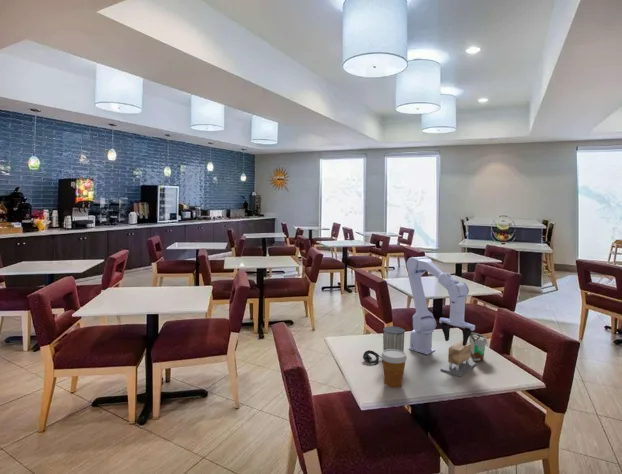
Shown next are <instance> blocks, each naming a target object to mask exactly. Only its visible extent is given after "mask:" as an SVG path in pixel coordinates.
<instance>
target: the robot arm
mask: <svg viewBox="0 0 622 474" xmlns="http://www.w3.org/2000/svg"><path fill="white" fill-rule="evenodd" d="M406 270H407V273H408V274H407V275H408V276H407V277H408V281H409V283H410V284H409V285H410V289H411V294H412V299H413V303H414V308H415V313H414V314H413V315H412V329H413V330H411V333H410V337H409V338H410V339H409V348H408V349H409V350H411V351H414V352H416V353H417V352H418V353H420V354H421V353H422V354H424V355H428V354H431V353H433V352H434V351H436V349H435V348H432V346H433V332H434V330H436V327H437V321H436V319H435V317H434V314H433V313H432V312H431V311H430V310H429V309H428V305H427V300H426V296H425V291H424V287H423V283H422V276H423V275H424V274H425V273H426V272H428V273H429V274H431V275H432V276H433V277H435V278H437V283H438V284H439V285H441V286H442V287H443V288H445V290H446V291H447V292H448V293H447V294H448V297H449V300H450V301H449V302H450V305H449V318H448V317H447V318H446V317H440V318H439V321H438V322H439V324H440V329H441V330H442V333H443V335H444V341H445V342H448V341H449V340H450V331H451V326H453V327H458V328H462V331H461V332H462V341H463V346H465V345H466V344H467V343H468V342H469V339H470V334H471V333H472V332H473V331H475V330H476V325H475V324H472V323H469V322H466V321H465V311H466V310H465V309H466V297H467V296H468V295H469V292H470V290H469V286H468V285H467V284H466V282H460V281H459V280H458V279H456V278H455V277H454V276H452V274H451V273H450V272H443V271H442V270H441V269H440V268H439V267H438V266H436V264H434V263H433V260H432V259H431V258H430V257H428V256H426V255H424V256H417V257H416V256H415V257H414V256H411V257H409V258H408V259H407V261H406Z"/></svg>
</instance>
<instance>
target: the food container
mask: <svg viewBox="0 0 622 474" xmlns="http://www.w3.org/2000/svg"><path fill="white" fill-rule="evenodd" d="M468 343H471V357H470V358H471V361H472V362H476V363H481V362H483V361H484V358H485V351H486V350H485V349H486V345H487V344H488V340H487V337H486V336H485V335H483V334H480V333H477V332H473V331H472V333H471V334H470V336H469V341H468Z"/></svg>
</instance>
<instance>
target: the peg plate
mask: <svg viewBox="0 0 622 474" xmlns="http://www.w3.org/2000/svg"><path fill="white" fill-rule="evenodd" d="M477 363H478V362H473V360H470V358H469V359H467V360H466V361H464V362H463V363H461V364H460V365H456V364H453V363H449V362H448V363H447V364H445V366H443V367H441V368H440V371H441V372H443V373H446V374H451V375H453V376H456V377H458V378H459V377H461V376H463V375H464V374H466V373H467V372H468V371H469V370H471V369H472V368H474V367H475V366H476V365H477Z"/></svg>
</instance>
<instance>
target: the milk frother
mask: <svg viewBox="0 0 622 474" xmlns="http://www.w3.org/2000/svg"><path fill="white" fill-rule="evenodd" d="M405 332H406V330H405V329H404V328H402V327H399V326H389V325H388V326H385V327H384V328H383V333H382V334H383V336H382V338H383V340H382V341H383V342H382V343H383V346H382V347H383V350H382V352H383V351H384V350H387V349H396V350H400V351H403V352H405V350H404V349H405ZM370 355H373V356H374V357H375V359H374V360H372V359H373V358H372V357H371V356H370ZM362 359H363V361H365V362H366V363H369V364H373V365H374V364H378V362H379V361H380V359H382V357H381V355H379V354H378V353H377V352H375V351H374V350H366V351H364V352H363V355H362ZM381 362H382V363H383V360H382V361H381Z"/></svg>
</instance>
